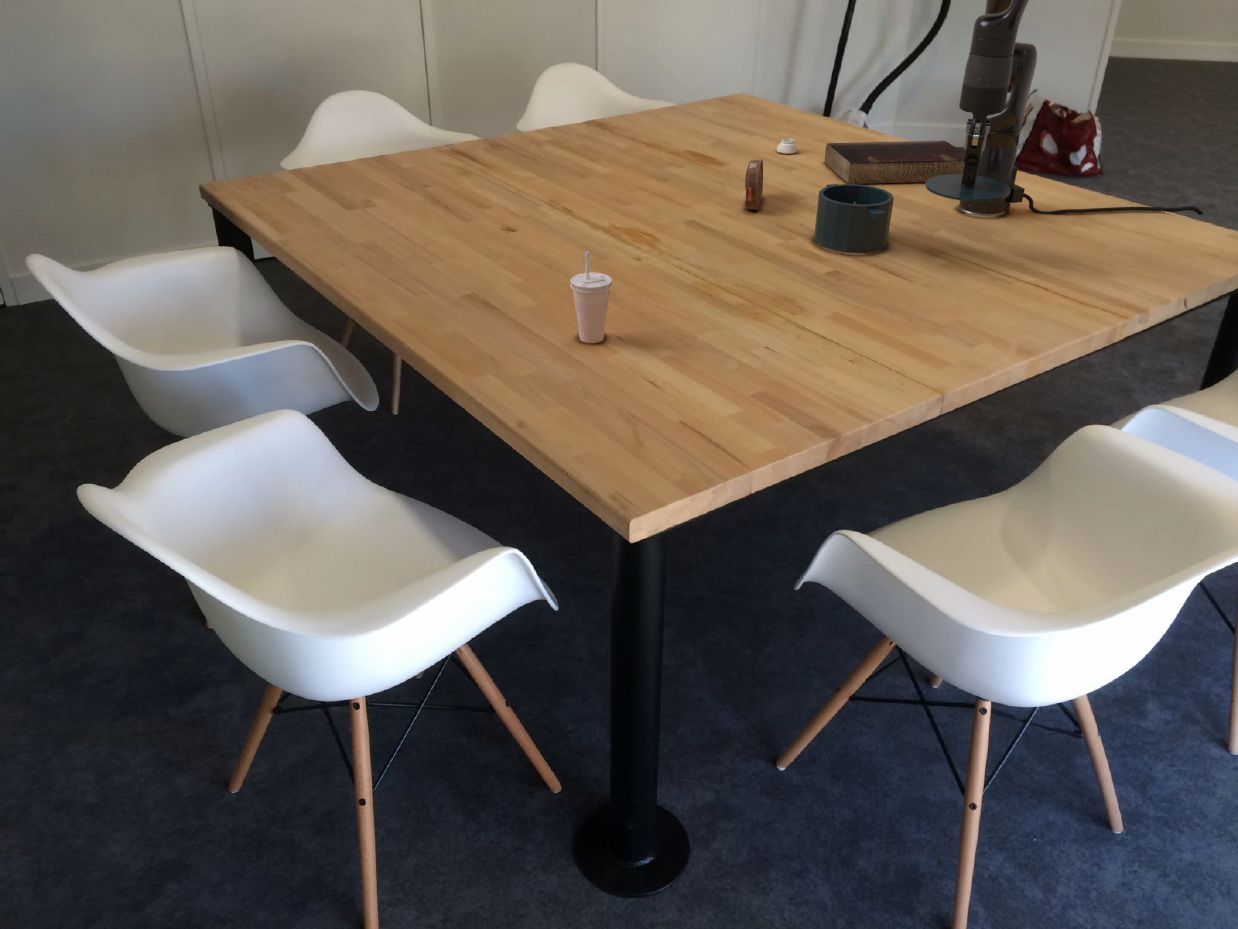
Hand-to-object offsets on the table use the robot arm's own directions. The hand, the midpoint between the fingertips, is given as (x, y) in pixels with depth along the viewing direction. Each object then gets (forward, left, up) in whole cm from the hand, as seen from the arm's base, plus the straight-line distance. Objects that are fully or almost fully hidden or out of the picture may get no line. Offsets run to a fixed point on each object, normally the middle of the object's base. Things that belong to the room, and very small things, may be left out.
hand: (968, 181), depth 189 cm
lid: (0, 0, -1) cm, 1 cm away
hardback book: (-20, -55, -15) cm, 60 cm away
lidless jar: (-3, -78, -15) cm, 79 cm away
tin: (+22, -42, -15) cm, 50 cm away
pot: (+14, -14, -15) cm, 25 cm away
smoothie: (+74, +14, -15) cm, 77 cm away
